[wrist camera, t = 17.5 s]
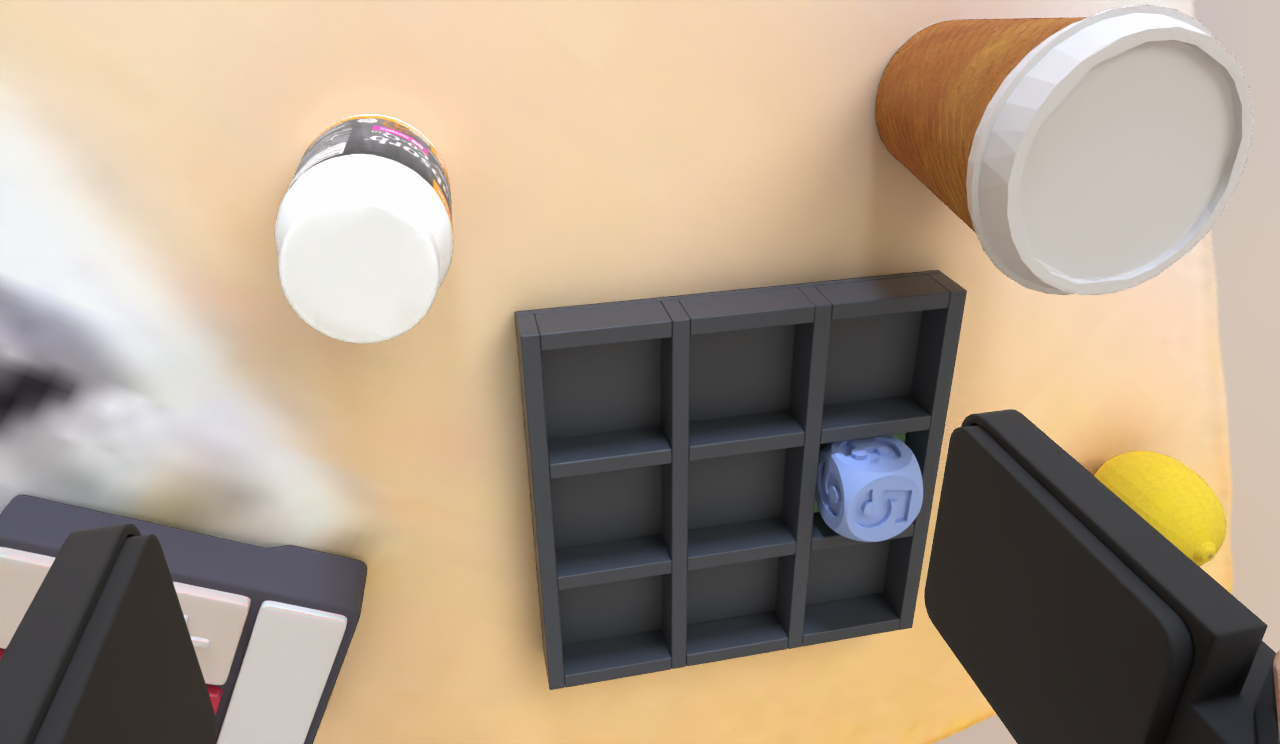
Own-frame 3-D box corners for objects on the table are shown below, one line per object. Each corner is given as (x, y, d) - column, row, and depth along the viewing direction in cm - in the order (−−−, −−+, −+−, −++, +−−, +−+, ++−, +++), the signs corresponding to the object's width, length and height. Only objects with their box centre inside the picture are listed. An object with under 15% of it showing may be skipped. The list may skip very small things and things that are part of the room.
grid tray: (543, 653, 49) (549, 690, 47) (514, 311, 40) (520, 336, 38) (891, 596, 53) (912, 627, 50) (938, 269, 43) (967, 290, 41)
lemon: (1135, 501, 53) (1242, 591, 46) (1050, 514, 52) (1146, 609, 45) (1159, 419, 51) (1276, 502, 44) (1069, 431, 50) (1175, 518, 43)
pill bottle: (479, 180, 37) (497, 268, 28) (385, 280, 38) (375, 393, 29) (364, 77, 34) (346, 139, 26) (266, 187, 35) (218, 283, 27)
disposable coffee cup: (1028, -61, 37) (1266, -44, 27) (1057, 154, 42) (1268, 239, 32) (813, 33, 37) (968, 87, 27) (866, 238, 42) (1015, 352, 31)
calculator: (-29, 543, 35) (361, 622, 40) (19, 482, 39) (370, 561, 44) (-63, 746, 39) (296, 796, 44) (-16, 672, 43) (310, 726, 48)
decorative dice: (881, 491, 48) (917, 537, 45) (809, 500, 47) (840, 548, 44) (891, 425, 46) (929, 468, 43) (816, 433, 46) (849, 478, 42)
